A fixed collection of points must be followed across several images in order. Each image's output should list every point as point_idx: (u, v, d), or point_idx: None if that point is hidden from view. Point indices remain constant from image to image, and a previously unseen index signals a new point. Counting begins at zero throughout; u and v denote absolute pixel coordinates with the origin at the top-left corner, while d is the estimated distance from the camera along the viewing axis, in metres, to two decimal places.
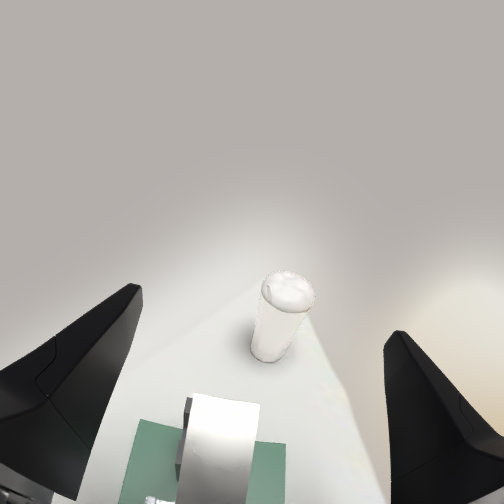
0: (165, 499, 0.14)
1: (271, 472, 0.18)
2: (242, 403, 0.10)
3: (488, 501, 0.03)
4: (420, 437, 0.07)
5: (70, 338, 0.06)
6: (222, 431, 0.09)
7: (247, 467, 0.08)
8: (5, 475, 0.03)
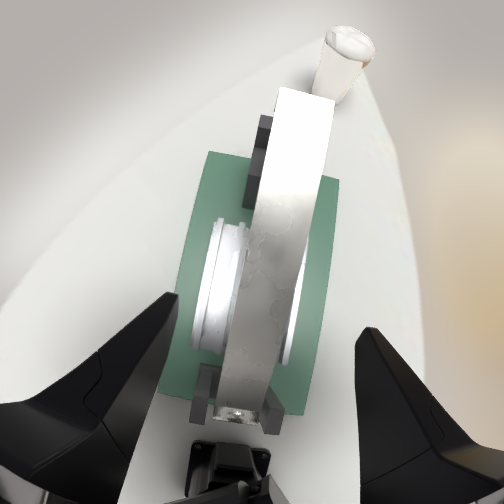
0: None
1: (325, 204, 0.24)
2: (320, 98, 0.11)
3: None
4: (389, 440, 0.07)
5: (114, 353, 0.06)
6: (303, 119, 0.12)
7: (322, 153, 0.12)
8: (54, 503, 0.03)
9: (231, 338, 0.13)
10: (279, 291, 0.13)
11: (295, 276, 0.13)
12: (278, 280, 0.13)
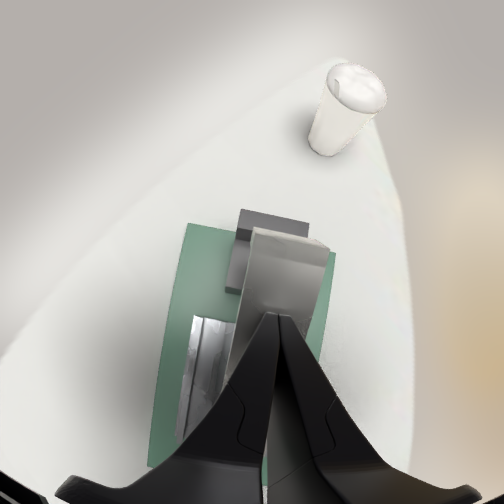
0: (212, 313, 0.21)
1: None
2: (310, 247, 0.09)
3: None
4: (287, 441, 0.07)
5: (247, 383, 0.06)
6: (285, 280, 0.09)
7: (307, 321, 0.10)
8: None
9: None
10: None
11: None
12: None
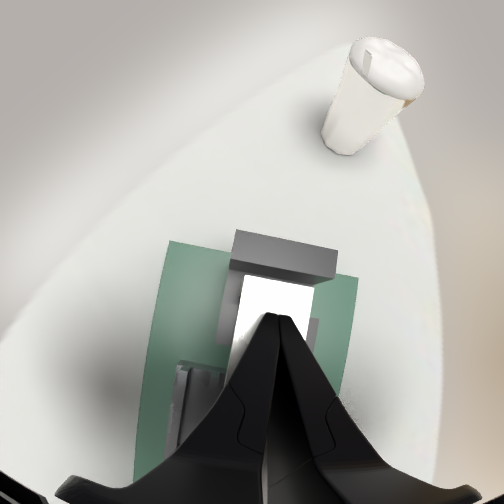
0: (202, 358, 0.16)
1: (336, 319, 0.17)
2: (296, 286, 0.10)
3: None
4: (287, 442, 0.07)
5: (247, 383, 0.06)
6: None
7: None
8: None
9: None
10: None
11: None
12: None
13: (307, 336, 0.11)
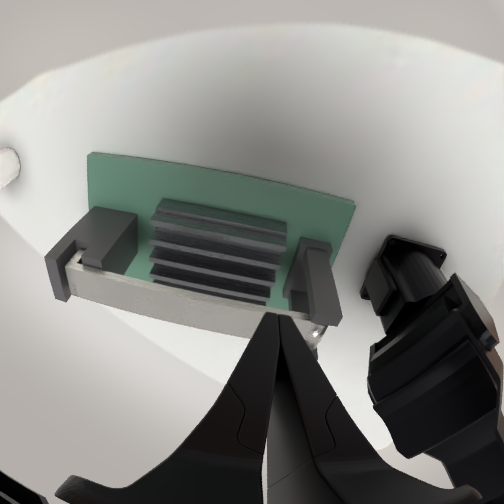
0: None
1: (116, 172, 0.20)
2: (67, 274, 0.16)
3: None
4: (287, 441, 0.07)
5: (247, 383, 0.06)
6: (82, 285, 0.17)
7: (97, 277, 0.16)
8: None
9: (234, 334, 0.18)
10: (193, 307, 0.17)
11: (180, 298, 0.16)
12: (185, 307, 0.17)
13: (90, 262, 0.17)
